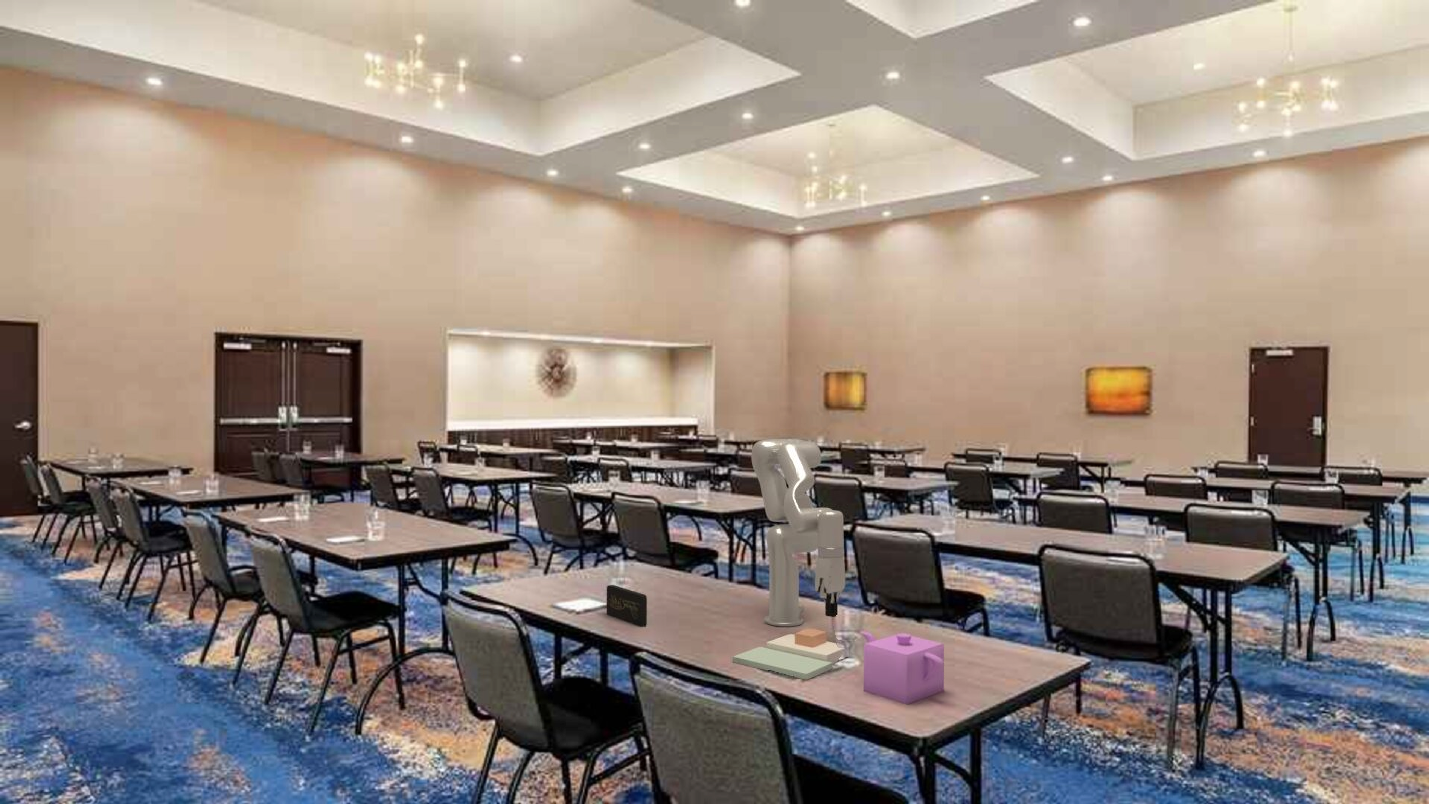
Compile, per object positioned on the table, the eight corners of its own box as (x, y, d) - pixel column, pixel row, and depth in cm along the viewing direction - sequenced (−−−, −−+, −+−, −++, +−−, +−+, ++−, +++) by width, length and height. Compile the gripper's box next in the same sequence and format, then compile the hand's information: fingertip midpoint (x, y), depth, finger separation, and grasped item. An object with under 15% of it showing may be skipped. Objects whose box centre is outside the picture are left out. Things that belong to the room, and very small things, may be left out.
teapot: (878, 672, 231) (878, 619, 231) (961, 696, 212) (961, 638, 212) (841, 684, 221) (841, 628, 221) (924, 710, 202) (924, 649, 202)
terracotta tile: (808, 638, 252) (808, 628, 252) (826, 642, 248) (826, 631, 248) (794, 643, 246) (794, 633, 246) (812, 647, 242) (812, 636, 242)
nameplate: (646, 626, 277) (646, 595, 277) (641, 627, 276) (641, 596, 276) (611, 614, 293) (611, 584, 293) (606, 614, 292) (606, 585, 292)
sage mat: (760, 651, 249) (760, 646, 249) (832, 668, 233) (832, 662, 233) (732, 662, 239) (732, 656, 239) (806, 679, 224) (806, 674, 224)
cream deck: (790, 644, 257) (790, 633, 257) (849, 656, 244) (849, 646, 244) (766, 652, 248) (766, 642, 248) (826, 666, 235) (826, 655, 235)
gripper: (833, 549, 263) (833, 610, 263) (805, 554, 252) (806, 618, 251) (854, 551, 258) (855, 613, 258) (828, 557, 247) (829, 622, 246)
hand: (831, 615), depth 254 cm, fingers closed
